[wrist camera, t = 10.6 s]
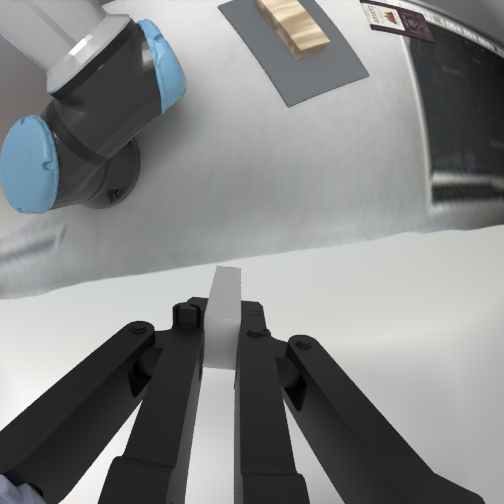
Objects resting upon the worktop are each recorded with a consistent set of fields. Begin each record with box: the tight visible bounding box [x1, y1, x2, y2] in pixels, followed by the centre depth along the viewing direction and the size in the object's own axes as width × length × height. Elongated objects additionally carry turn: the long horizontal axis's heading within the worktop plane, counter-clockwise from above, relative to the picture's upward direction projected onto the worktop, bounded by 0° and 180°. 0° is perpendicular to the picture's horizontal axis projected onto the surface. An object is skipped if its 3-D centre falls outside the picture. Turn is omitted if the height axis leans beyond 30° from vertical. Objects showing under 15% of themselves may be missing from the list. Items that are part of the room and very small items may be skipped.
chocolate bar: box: [360, 0, 435, 44], centre depth 35 cm, size 9×1×18 cm
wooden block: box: [254, 0, 330, 59], centre depth 34 cm, size 4×6×15 cm
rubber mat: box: [218, 0, 370, 108], centre depth 37 cm, size 26×18×1 cm
